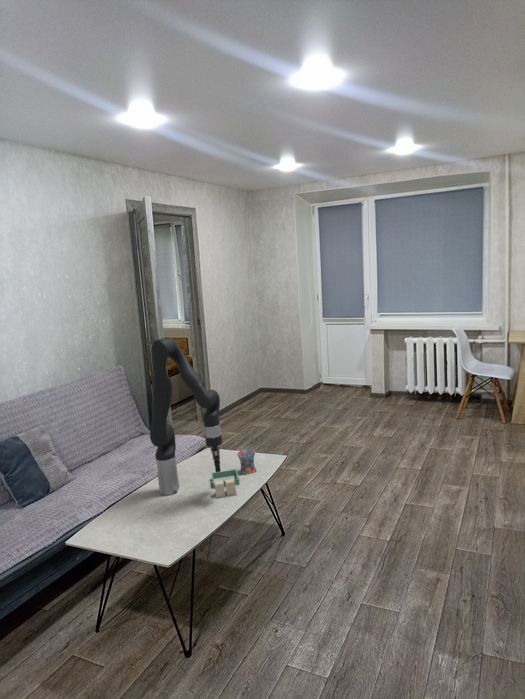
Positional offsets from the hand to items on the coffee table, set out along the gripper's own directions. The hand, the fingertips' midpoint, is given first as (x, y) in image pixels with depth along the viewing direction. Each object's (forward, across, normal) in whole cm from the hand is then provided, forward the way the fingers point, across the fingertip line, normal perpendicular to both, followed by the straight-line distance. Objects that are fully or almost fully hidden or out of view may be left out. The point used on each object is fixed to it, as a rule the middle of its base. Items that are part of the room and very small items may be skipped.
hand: (217, 468), depth 231 cm
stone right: (+13, 0, +5) cm, 14 cm away
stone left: (+13, 0, 0) cm, 13 cm away
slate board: (+14, 0, +2) cm, 14 cm away
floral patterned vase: (+14, -24, +16) cm, 33 cm away
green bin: (+14, -14, +3) cm, 20 cm away
